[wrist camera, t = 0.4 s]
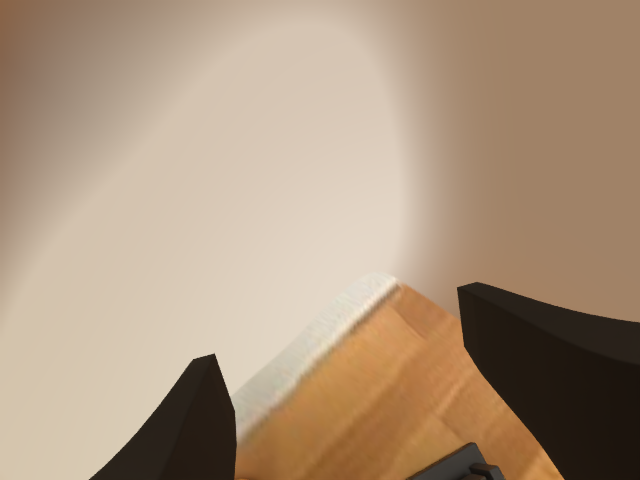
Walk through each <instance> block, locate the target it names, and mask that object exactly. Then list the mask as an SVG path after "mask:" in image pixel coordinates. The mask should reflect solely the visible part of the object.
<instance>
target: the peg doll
mask: <svg viewBox="0 0 640 480" xmlns="http://www.w3.org/2000/svg"><path fill="white" fill-rule="evenodd" d="M461 480H487V479H486V477H485V476H481V475H476V474H469V475H468V476H466V477H464V478H463V479H461Z"/></svg>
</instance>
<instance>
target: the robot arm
mask: <svg viewBox="0 0 640 480" xmlns="http://www.w3.org/2000/svg"><path fill="white" fill-rule="evenodd" d="M457 291H458V299H459V308H460V316H461V324H462V332H463V341H464V347H465V348H466V350H467V352H468V353H469V355H470V357H471V358H472V360H473V362H474V363H475V365H476V366H477V368H478V369H479V371H480V372H481V374H482V375H483V376H484V378H485V379H486V380H487V381H488V382H489V384H490V385H491V386H492V387H493V388H494V390H495V391H496V392H497V393H498V394H499V396H500V397H501V398H502V399H503V400H504V401H505V403H506V404H507V405H508V406H509V407H510V408H511V410H512V411H513V412H514V413H515V414H516V415H517V417H518V418H519V419H520V420H521V421H522V423H523V424H524V425H525V426H526V427H527V428H528V430H529V431H530V432H531V433H532V434H533V436H534V437H535V438H536V440H537V441H538V442H539V443H540V445H541V446H542V448H543V449H544V450H545V452H546V453H547V455H548V456H549V458H550V459H551V461H552V462H553V464H554V465H555V466H556V468H557V469H558V471H559V472H560V474H561V475H562V477H563V478H564V480H640V323H639V322H631V321H624V320H617V319H611V318H607V317H602V316H596V315H590V314H586V313H582V312H577V311H573V310H569V309H565V308H562V307H558V306H554V305H551V304H547V303H544V302H540V301H537V300H534V299H531V298H527V297H524V296H521V295H518V294H515V293H512V292H509V291H506V290H503V289H500V288H497V287H493V286H490V285H486V284H483V283H479V282H475V283H471V284H468V285H464V286H461V287H457ZM236 446H237V441H236V422H235V410H234V407H233V405H232V402H231V399H230V396H229V393H228V390H227V387H226V385H225V382H224V379H223V376H222V373H221V370H220V367H219V365H218V362H217V359H216V356H215V354H211V355H207V356H203V357H200V358H196V359H193V360H192V362H191V363H190V364H189V365H188V367H187V368H186V369H185V371H184V372H183V374H182V375H181V376H180V378H179V379H178V381H177V382H176V383H175V385H174V386H173V387H172V389H171V390H170V392H169V393H168V394H167V396H166V397H165V398H164V400H163V401H162V402H161V404H160V405H159V406H158V407H157V409H156V410H155V411H154V412H153V414H152V415H151V416H150V417H149V418H148V420H147V421H146V422H145V423H144V425H143V426H142V427H141V428H140V429H139V431H138V432H137V433H136V434H135V435H134V436H133V437H132V438H131V440H130V441H129V442H128V443H127V444H126V445H125V446H124V447H123V448H122V449H121V450H120V451H119V452H118V453H117V454H116V455H115V456H114V457H113V458H112V459H111V460H110V461H109V462H108V463H107V464H106V465H105V466H104V467H103V468H102V469H101V470H100V471H98V472H97V473H96V474H95V475H94V476H93V477H91V478H90V479H89V480H234V474H235V461H236Z"/></svg>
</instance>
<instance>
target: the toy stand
mask: <svg viewBox="0 0 640 480" xmlns="http://www.w3.org/2000/svg"><path fill="white" fill-rule="evenodd" d="M469 474H476V475H481V476H485V477H486V479H487V480H506V479H505V477H504V476H503V474H502V473H501V471H500V469H499V467H498V466H495V465H488V464H487V463H486V462H485V460H484V458H483V456H482V454H481V452H480V451H479V449H478V447H477V445H476V443H469V444H467V445H465V446H463V447H462V448H460V449H458V450H456V451H455V452H453V453H451V454H450V455H448V456H446V457H444V458H443V459H441V460H439V461H437V462H436V463H434V464H432V465H431V466H429V467H427V468H425V469H424V470H422V471H420V472H418V473H417V474H415V475H413V476H412V477H410V478H408V479H406V480H461V479H463V478H464V477H466V476H468V475H469Z"/></svg>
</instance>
